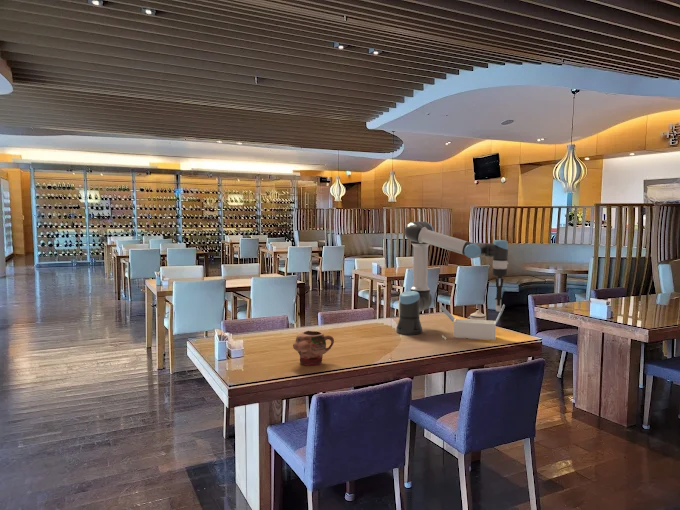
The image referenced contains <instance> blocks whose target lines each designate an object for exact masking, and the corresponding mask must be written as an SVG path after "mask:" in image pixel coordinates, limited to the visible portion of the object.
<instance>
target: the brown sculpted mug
mask: <svg viewBox="0 0 680 510" xmlns="http://www.w3.org/2000/svg"><path fill="white" fill-rule="evenodd" d="M328 340H329V341H330V344H329V346H328V347H327V341H328ZM334 343H335V340H334V338H333V336H332V335H330V334H329V335H328V334H326V335H325V334H324V333H323V332H321V331H315V330H313V331H312V330H306V331H304V332H301V333H299V334H297V336H296V338H295V341H294V342H293V344H292V348H293V349H294V350H295V351H296V352H297V353H298V354H299V363H301V364H302V365H304V366H309V367H310V366H318V365H319V366H320V365H321V363H322V362H323V357H324V356H323V355H325V354H326V353H328V352H329V350H331V349H332V347H333V346H334Z"/></svg>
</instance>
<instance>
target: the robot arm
mask: <svg viewBox="0 0 680 510" xmlns="http://www.w3.org/2000/svg"><path fill="white" fill-rule="evenodd" d="M404 235H405V238H407V239H408V240H409V241H410V244H411V245H412V247H413V261H412V262H413V264H412V265H413V266H412V267H413V270H412V271H413V272H412V273H413V275H412V276H413V277H412V280H413V282H412V286H411V287H410V290H408V291H402V292H401V293H400V294H399V299H398V301H399V302H398V303H399V304H398V306H399V313H398V315H399V320H398V322H397V324H396V333H397V334H400V335H405V336H407V335H409V336H410V335H411V336H414V335H421V334H422V333H423V327H422V323H421V320H420V312H423V311H426V310H428V309H430V307H431V306H432V304H433V302H434V299H433V296H432V294H431V288H430V287H429V286H428V271H429V268H428V266H429V264H428V263H429V260H428V259H429V246H430V245H432V246H434V247H437V248H441V249H444V250H447V251H451V252H453V253H457V254H461V255H463V256H465V257H466V258H469V259H478V258H483V257H484V258H485V257H486V258H492V275H493V276H496V278H495V286H496V293H495V294H496V296H495V298H494V300H495V312H498V313H500V312H501V308H502V300H503V297H502V290H503V289H502V288H503V287H504V286H503V285H504V278H503V277H506V276H508V269H507V268H508V265H509V264H510V263H509V262H508V260H509V259H508V257H509V242H508V240H504V239H495V240H494V241H493V242H492V243H487V242H485V243H484V242H470V241H467V240H463V239H460V238H457V237H454V236H450V235H447V234H443V233H441V232H437V231H435V230H434V227H433V225H432V224H430V223H429V222H428V221H423V220H422V221H410V222H409V223H408V224H406V225H405V227H404Z"/></svg>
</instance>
